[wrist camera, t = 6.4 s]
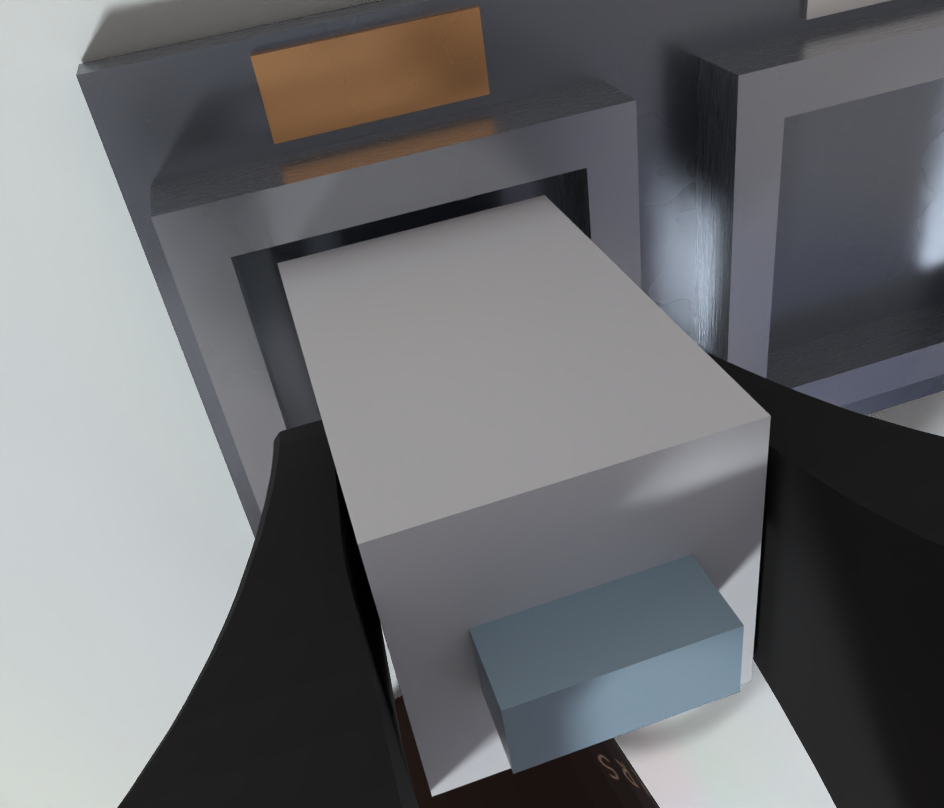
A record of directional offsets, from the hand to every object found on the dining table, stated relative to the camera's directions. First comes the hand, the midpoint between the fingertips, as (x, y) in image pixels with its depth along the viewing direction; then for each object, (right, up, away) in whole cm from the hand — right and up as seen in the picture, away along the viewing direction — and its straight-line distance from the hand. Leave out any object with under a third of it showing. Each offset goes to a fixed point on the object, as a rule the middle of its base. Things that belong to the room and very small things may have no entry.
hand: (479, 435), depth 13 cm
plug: (-1, +1, +2) cm, 2 cm away
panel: (+3, +3, +4) cm, 6 cm away
